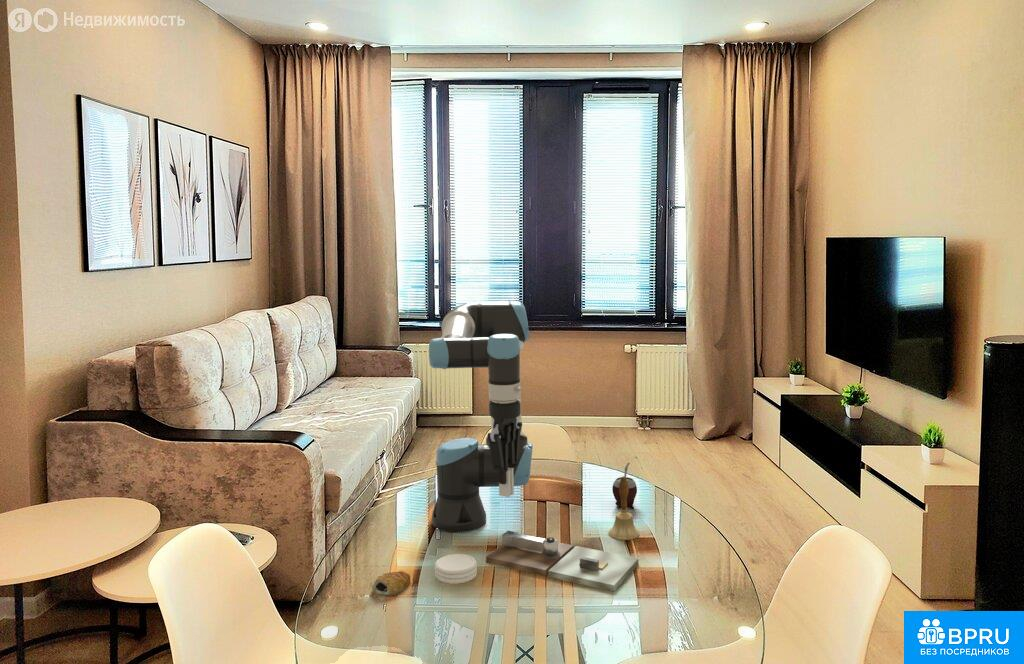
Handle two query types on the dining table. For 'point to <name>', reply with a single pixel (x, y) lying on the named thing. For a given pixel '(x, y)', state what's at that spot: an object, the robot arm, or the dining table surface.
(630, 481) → the mate gourd
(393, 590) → the pastry
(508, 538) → the swing bar
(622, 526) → the hand bell
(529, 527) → the dining table surface
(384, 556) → the dining table surface
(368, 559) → the dining table surface
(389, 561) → the dining table surface
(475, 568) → the coaster
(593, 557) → the door board
